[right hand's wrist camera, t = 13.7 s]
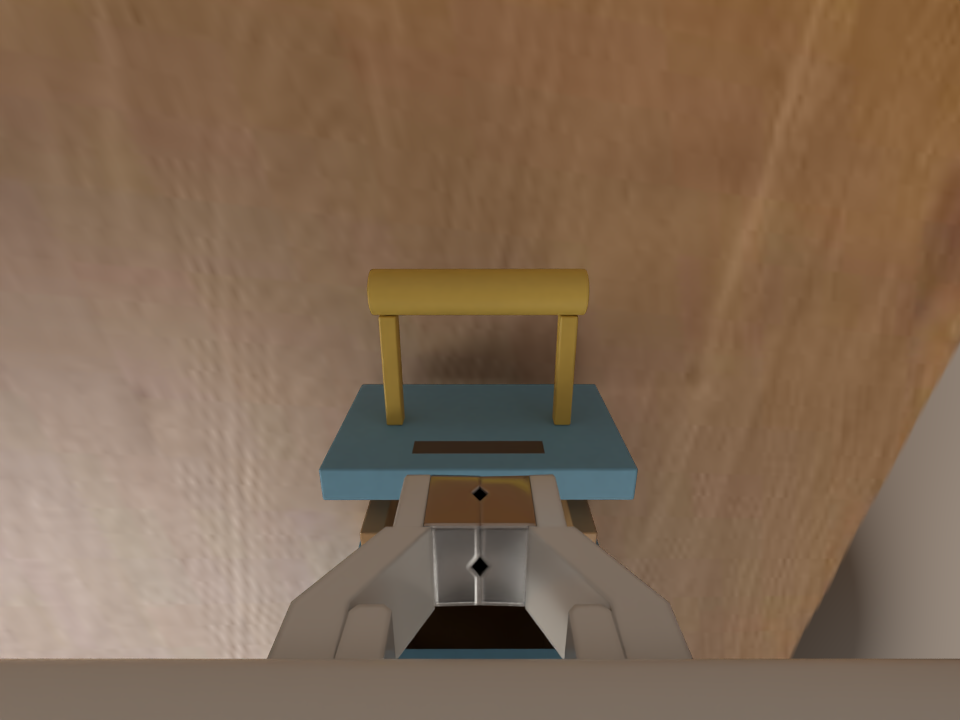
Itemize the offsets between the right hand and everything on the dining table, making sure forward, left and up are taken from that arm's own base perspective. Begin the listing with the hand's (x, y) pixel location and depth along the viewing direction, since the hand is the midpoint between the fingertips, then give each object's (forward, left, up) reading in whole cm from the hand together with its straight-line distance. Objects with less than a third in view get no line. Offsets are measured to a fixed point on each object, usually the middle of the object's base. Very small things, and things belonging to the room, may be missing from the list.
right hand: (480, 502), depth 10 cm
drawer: (+9, -3, -11) cm, 15 cm away
